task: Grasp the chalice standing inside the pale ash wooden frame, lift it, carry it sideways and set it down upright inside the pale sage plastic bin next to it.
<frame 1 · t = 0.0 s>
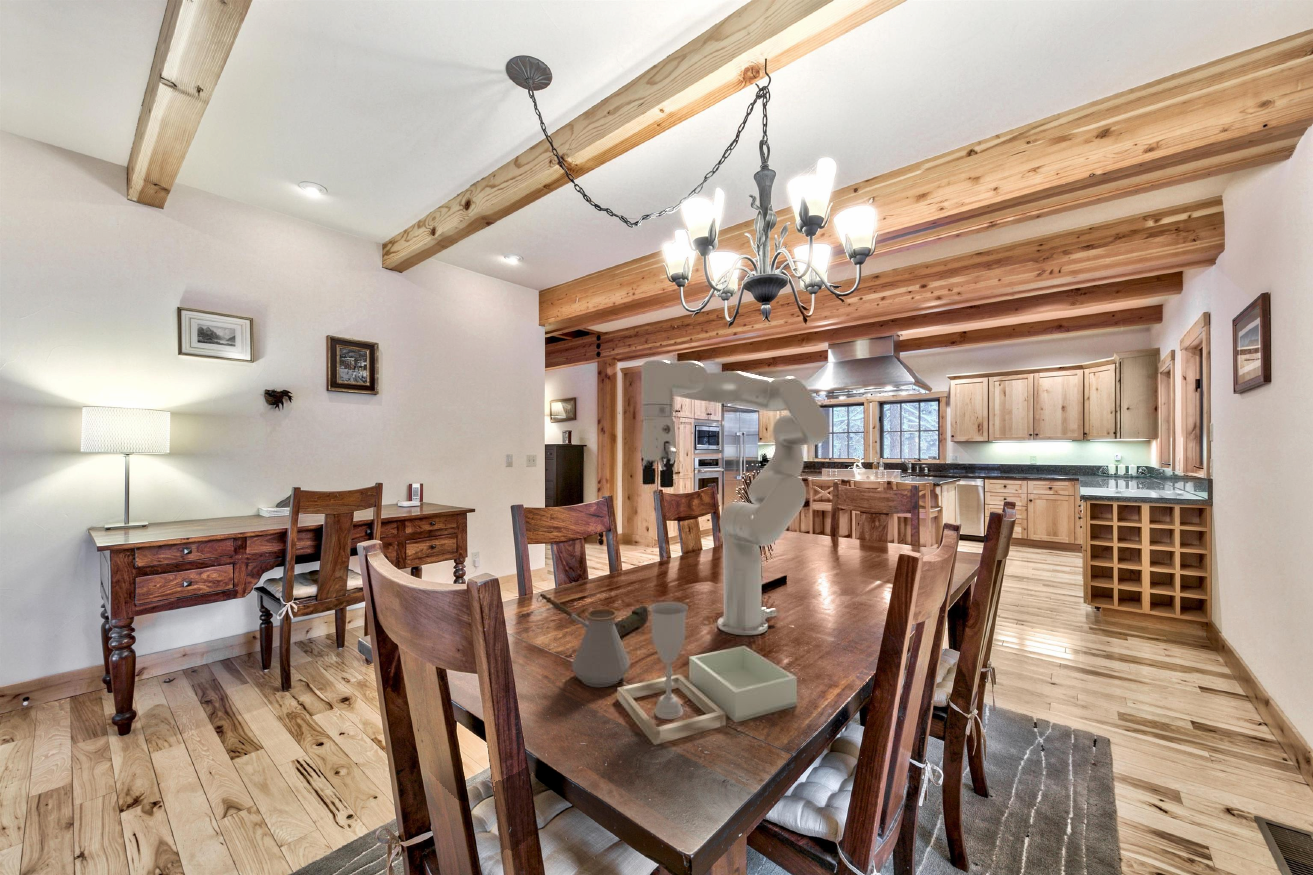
hand: (657, 485, 121), 37 cm above the table, tool pointing down, fingers open, 9 cm apart
ash frame: (668, 711, 90), on the table
sage bin: (740, 693, 96), on the table
coffee pot: (580, 674, 105), on the table
hand tool: (625, 633, 128), on the table
chalice: (668, 712, 90), resting in ash frame
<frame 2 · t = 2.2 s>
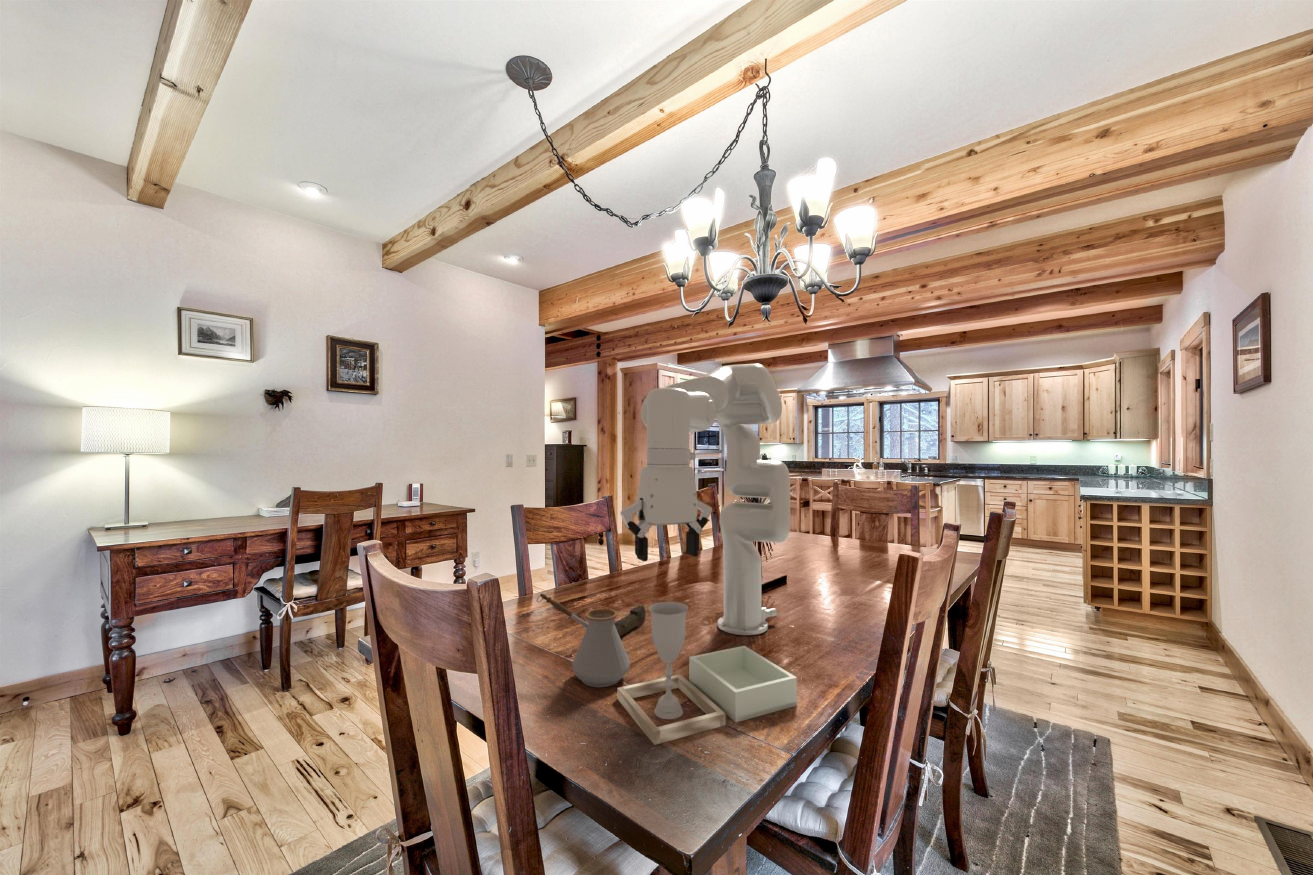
hand: (667, 557, 90), 27 cm above the table, tool pointing down, fingers open, 9 cm apart
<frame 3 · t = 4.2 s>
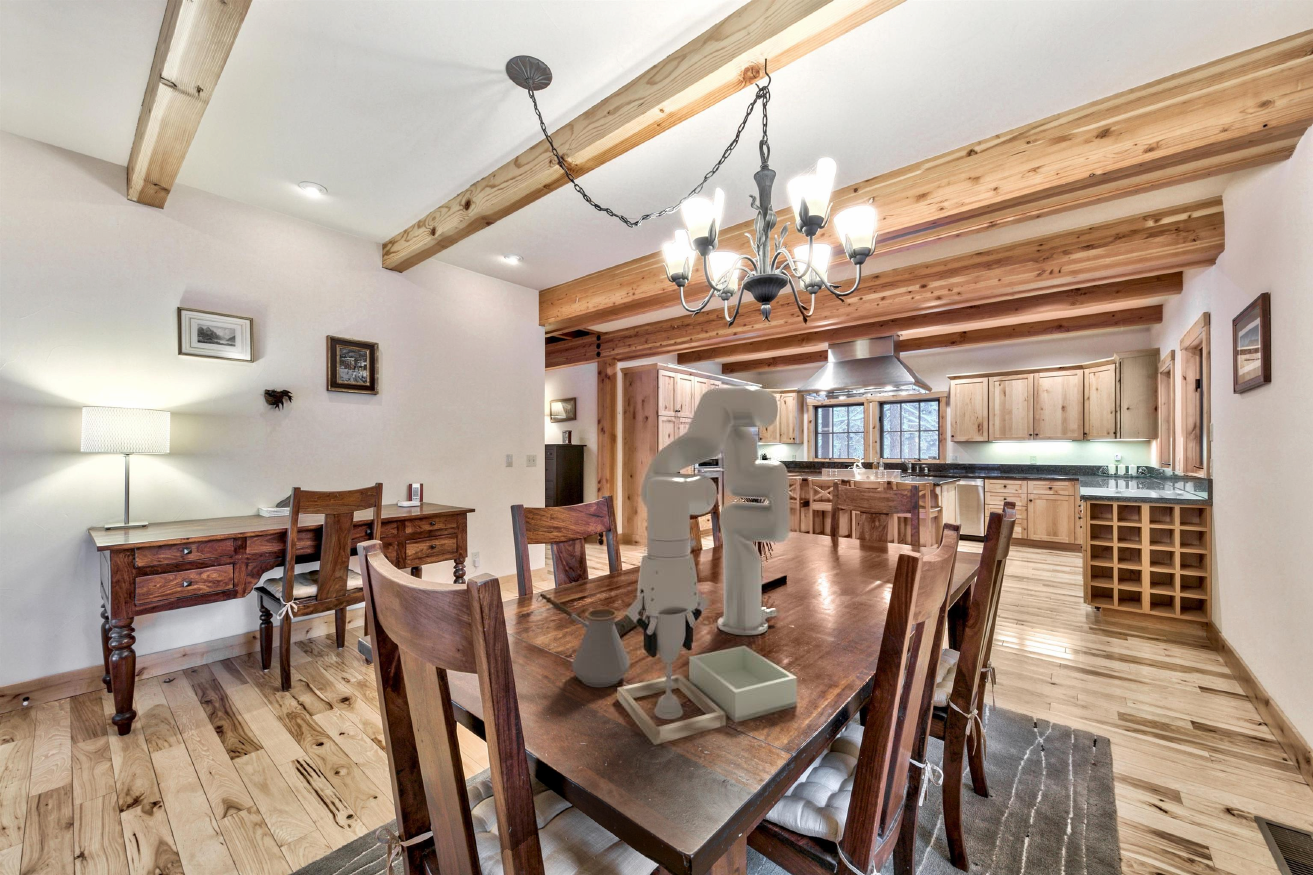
hand: (668, 650, 90), 11 cm above the table, tool pointing down, fingers closed on chalice, 6 cm apart
chalice: (668, 712, 90), resting in ash frame, touching gripper
everything else where it was.
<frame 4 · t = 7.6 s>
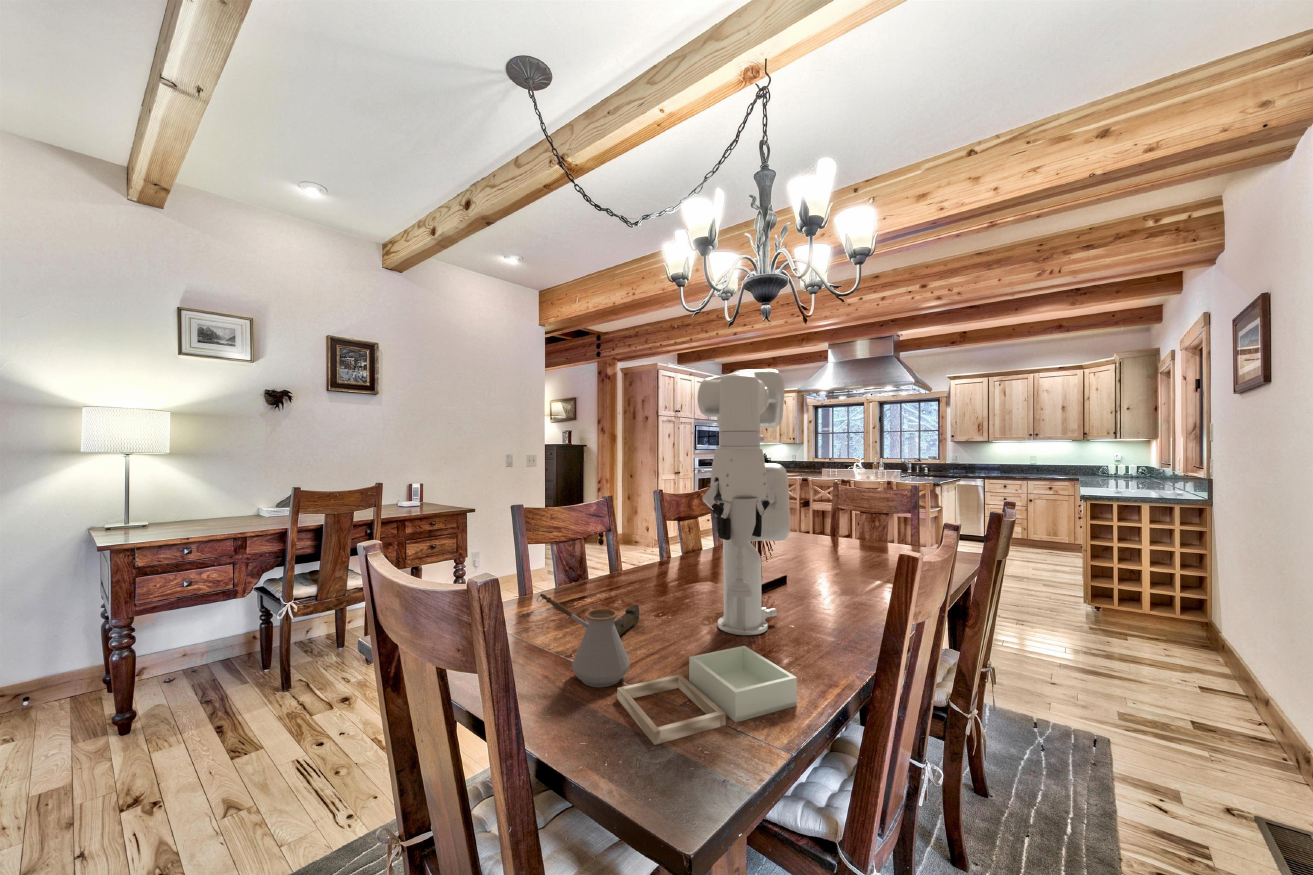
hand: (739, 536, 97), 29 cm above the table, tool pointing down, fingers closed on chalice, 6 cm apart
chalice: (740, 594, 96), point 18 cm above the table, touching gripper
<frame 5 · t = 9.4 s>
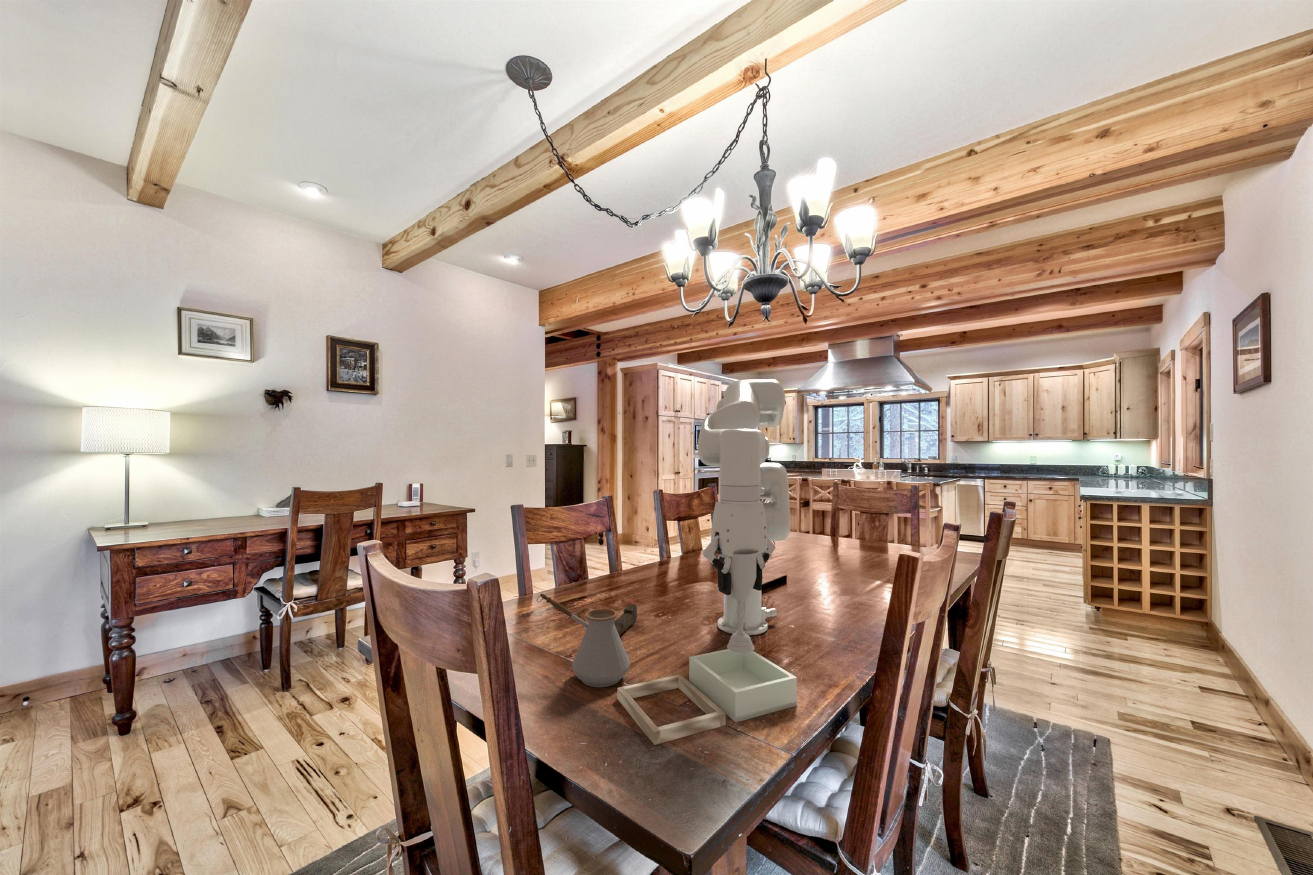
hand: (740, 590, 96), 19 cm above the table, tool pointing down, fingers closed on chalice, 6 cm apart
chalice: (740, 648, 96), point 8 cm above the table, touching gripper
when the fingers open (13 cm above the table, at t = 11.2 s): chalice drops 1 cm, resting on sage bin.
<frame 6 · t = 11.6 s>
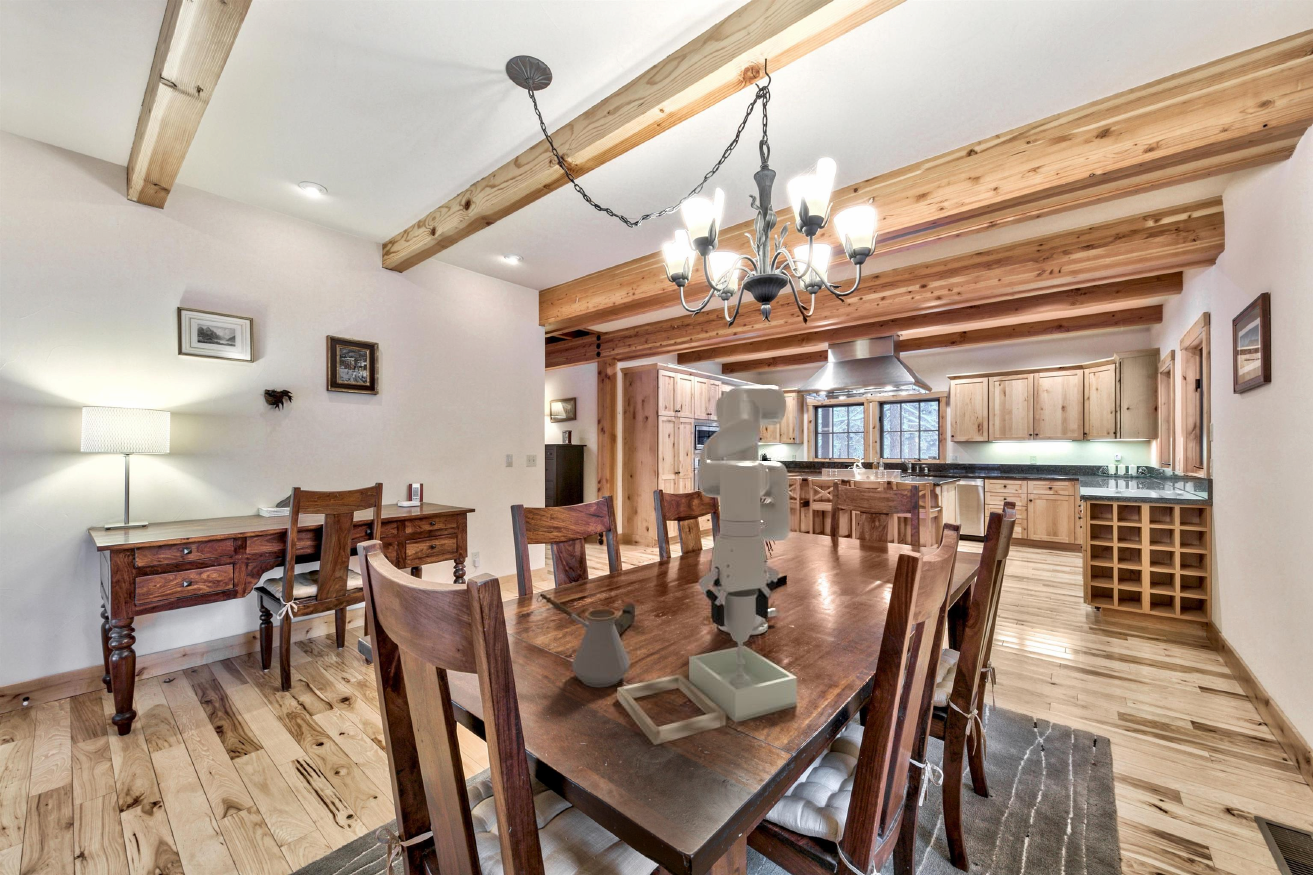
hand: (740, 620, 96), 14 cm above the table, tool pointing down, fingers open, 9 cm apart
chalice: (740, 689, 96), point 1 cm above the table, touching sage bin
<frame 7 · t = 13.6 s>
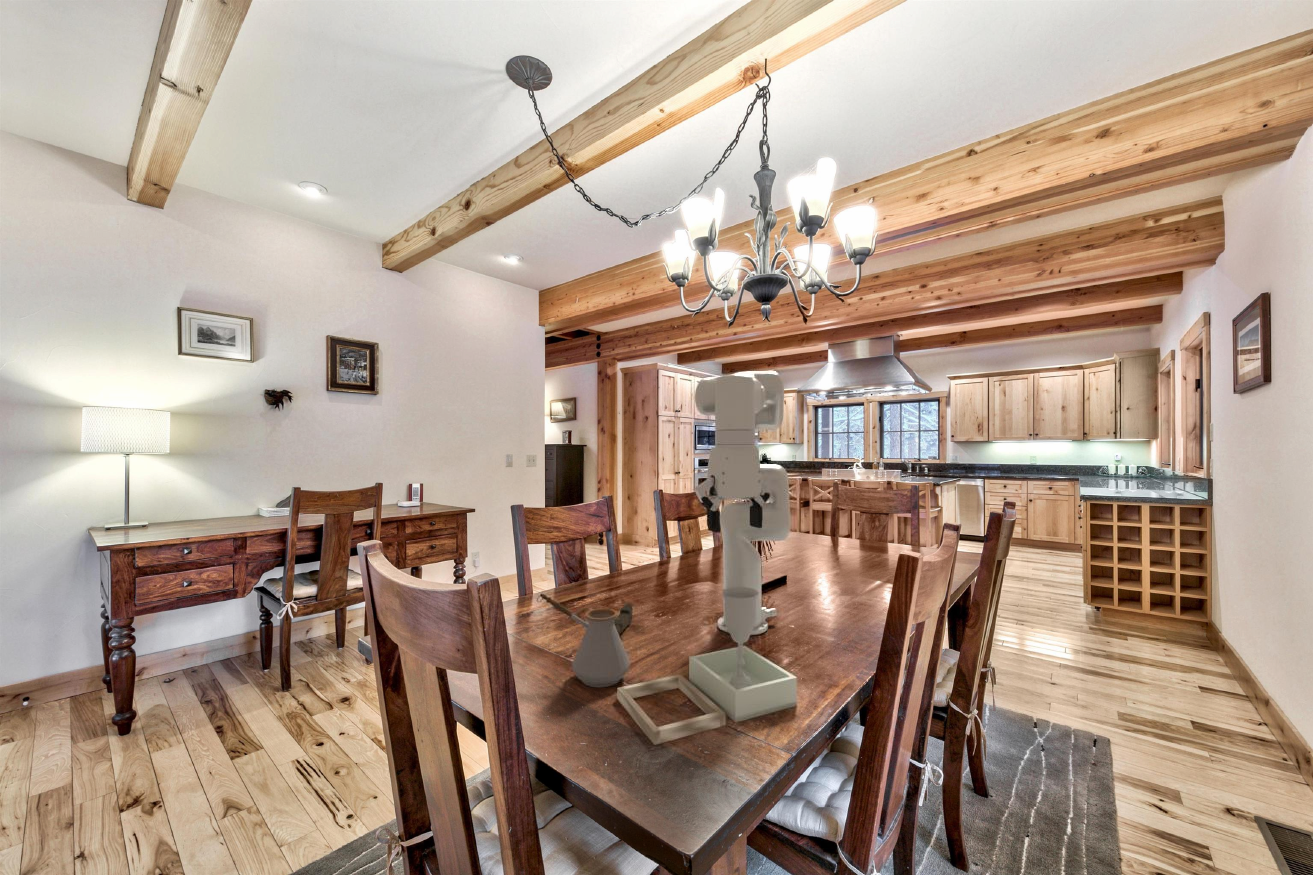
hand: (735, 529, 99), 30 cm above the table, tool pointing down, fingers open, 9 cm apart
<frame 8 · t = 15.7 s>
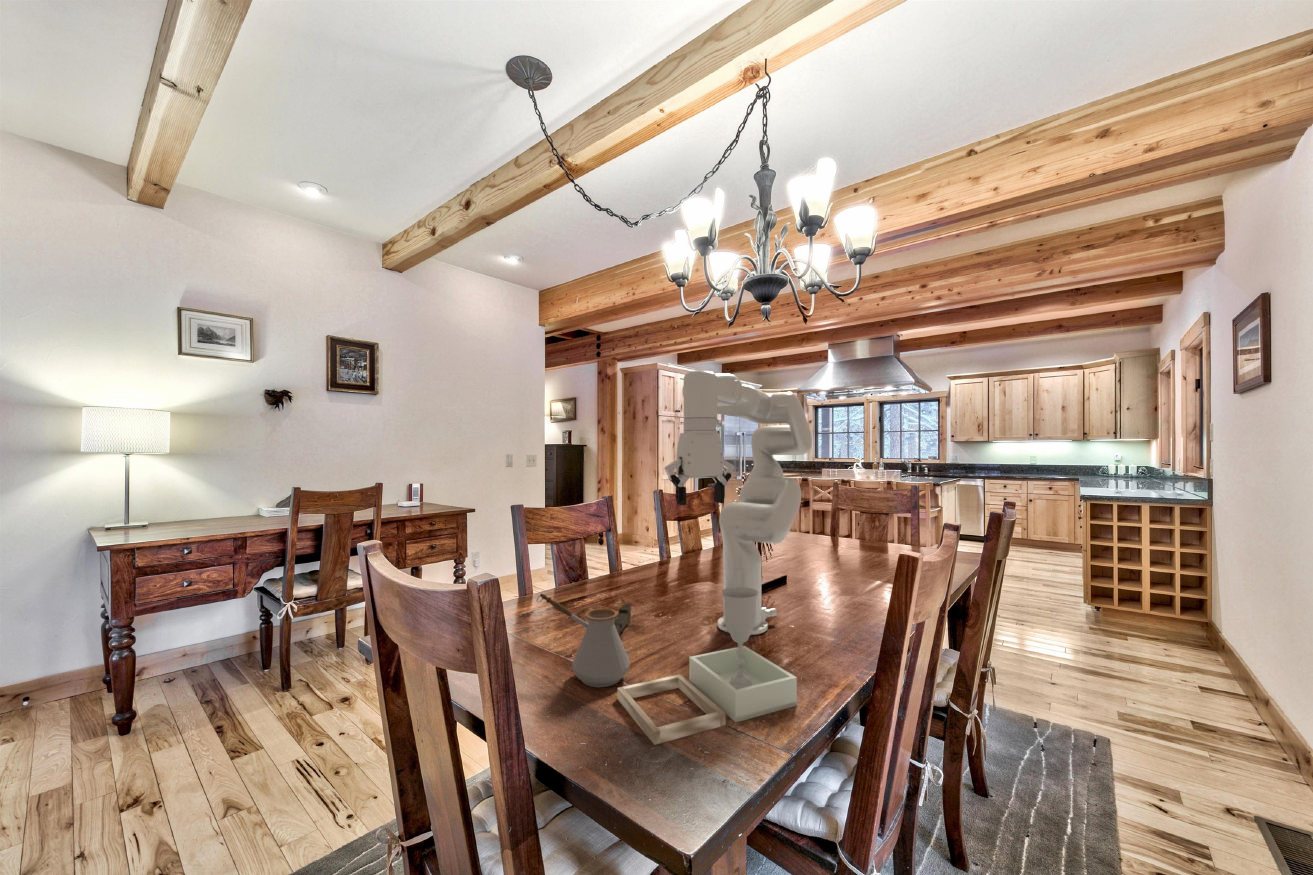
hand: (700, 503, 115), 33 cm above the table, tool pointing down, fingers open, 9 cm apart
at the end: chalice inside the target area on the sage bin (0.1 cm from its centre), point 0.6 cm above the sage bin's base; chalice tilted 0°; the gripper is holding nothing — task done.
